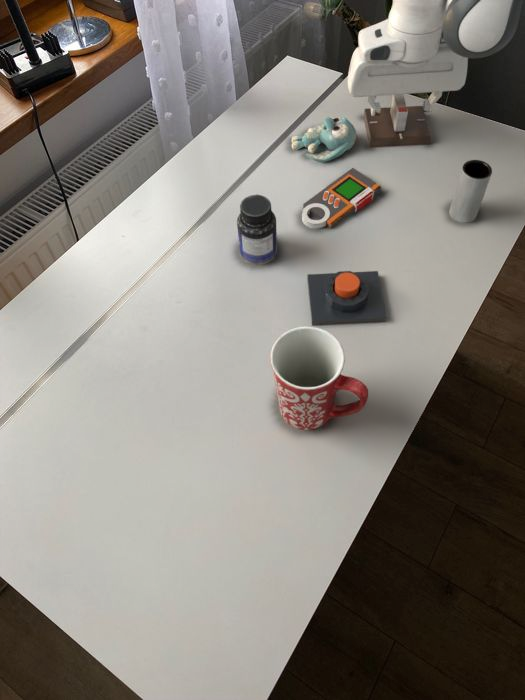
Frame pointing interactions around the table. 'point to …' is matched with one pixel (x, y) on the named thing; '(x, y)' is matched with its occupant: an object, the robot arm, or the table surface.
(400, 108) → the white rectangular block
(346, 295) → the button
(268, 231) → the pill bottle
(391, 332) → the table surface
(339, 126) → the stuffed animal
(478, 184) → the white cylindrical tube
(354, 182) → the electronic device
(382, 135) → the panel
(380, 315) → the button box
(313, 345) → the mug
